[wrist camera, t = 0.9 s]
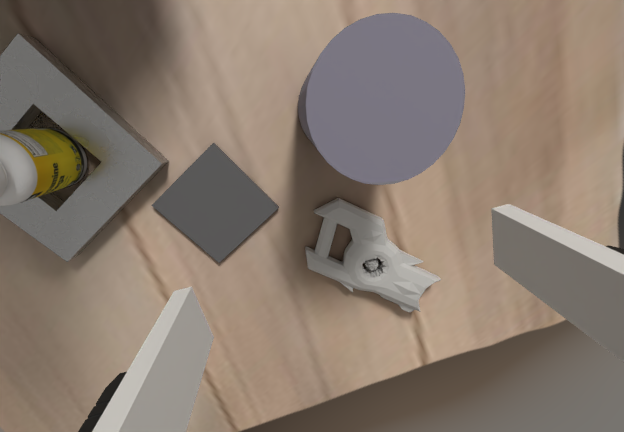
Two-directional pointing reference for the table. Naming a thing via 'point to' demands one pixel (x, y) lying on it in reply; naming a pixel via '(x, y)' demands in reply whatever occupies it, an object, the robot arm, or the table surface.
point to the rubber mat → (215, 203)
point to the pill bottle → (38, 163)
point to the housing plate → (83, 128)
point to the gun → (368, 257)
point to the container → (383, 99)
